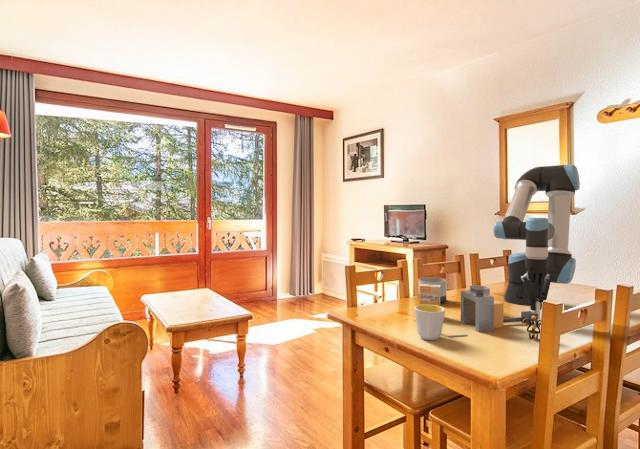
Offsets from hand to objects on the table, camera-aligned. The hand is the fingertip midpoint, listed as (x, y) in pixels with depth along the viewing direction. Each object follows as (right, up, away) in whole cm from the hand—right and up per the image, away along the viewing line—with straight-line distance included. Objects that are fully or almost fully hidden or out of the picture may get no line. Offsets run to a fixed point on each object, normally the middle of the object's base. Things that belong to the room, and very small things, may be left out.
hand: (535, 318), depth 147 cm
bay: (-37, -2, -6) cm, 38 cm away
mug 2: (-15, -1, +16) cm, 22 cm away
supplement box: (-38, -2, +10) cm, 40 cm away
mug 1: (-45, -3, -14) cm, 47 cm away
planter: (-30, -1, +36) cm, 46 cm away
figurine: (-11, -3, -18) cm, 21 cm away
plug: (-11, -2, -2) cm, 11 cm away
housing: (-25, -2, -4) cm, 25 cm away
